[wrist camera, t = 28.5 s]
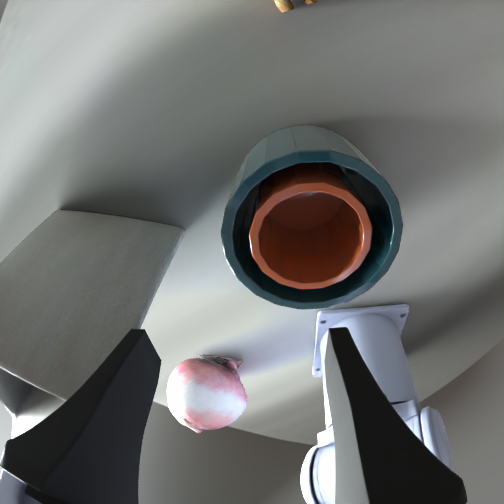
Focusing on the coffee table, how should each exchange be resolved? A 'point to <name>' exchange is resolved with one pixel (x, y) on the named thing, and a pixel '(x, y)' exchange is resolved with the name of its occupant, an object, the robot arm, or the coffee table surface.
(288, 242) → the cup
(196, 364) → the onion
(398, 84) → the coffee table surface
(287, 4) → the figurine
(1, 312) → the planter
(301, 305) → the base cup
